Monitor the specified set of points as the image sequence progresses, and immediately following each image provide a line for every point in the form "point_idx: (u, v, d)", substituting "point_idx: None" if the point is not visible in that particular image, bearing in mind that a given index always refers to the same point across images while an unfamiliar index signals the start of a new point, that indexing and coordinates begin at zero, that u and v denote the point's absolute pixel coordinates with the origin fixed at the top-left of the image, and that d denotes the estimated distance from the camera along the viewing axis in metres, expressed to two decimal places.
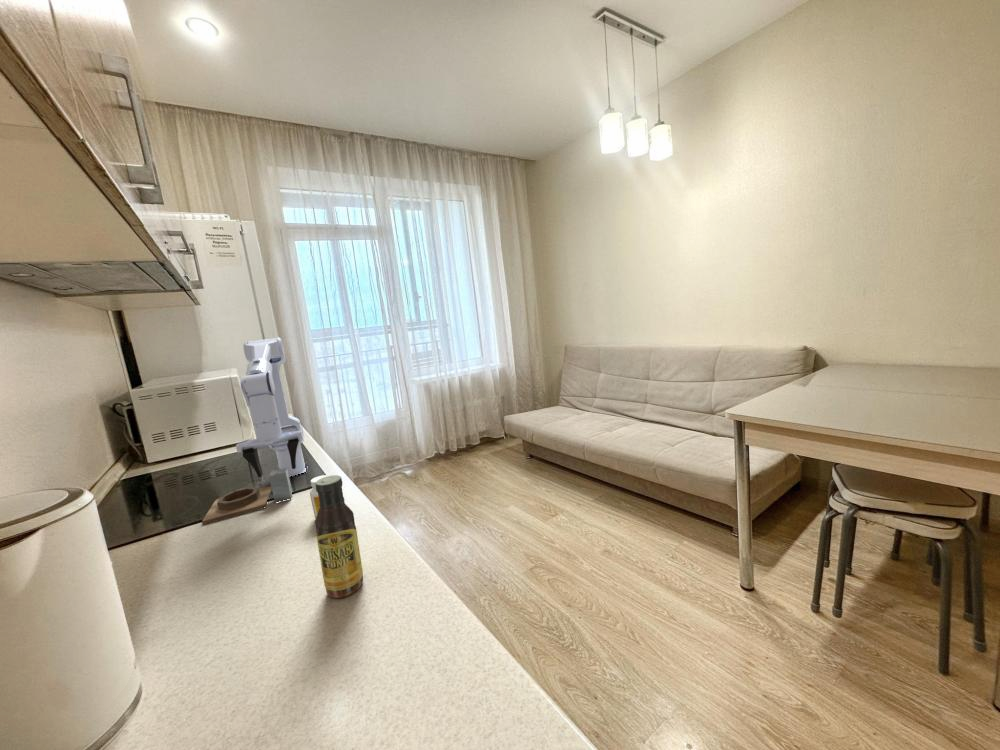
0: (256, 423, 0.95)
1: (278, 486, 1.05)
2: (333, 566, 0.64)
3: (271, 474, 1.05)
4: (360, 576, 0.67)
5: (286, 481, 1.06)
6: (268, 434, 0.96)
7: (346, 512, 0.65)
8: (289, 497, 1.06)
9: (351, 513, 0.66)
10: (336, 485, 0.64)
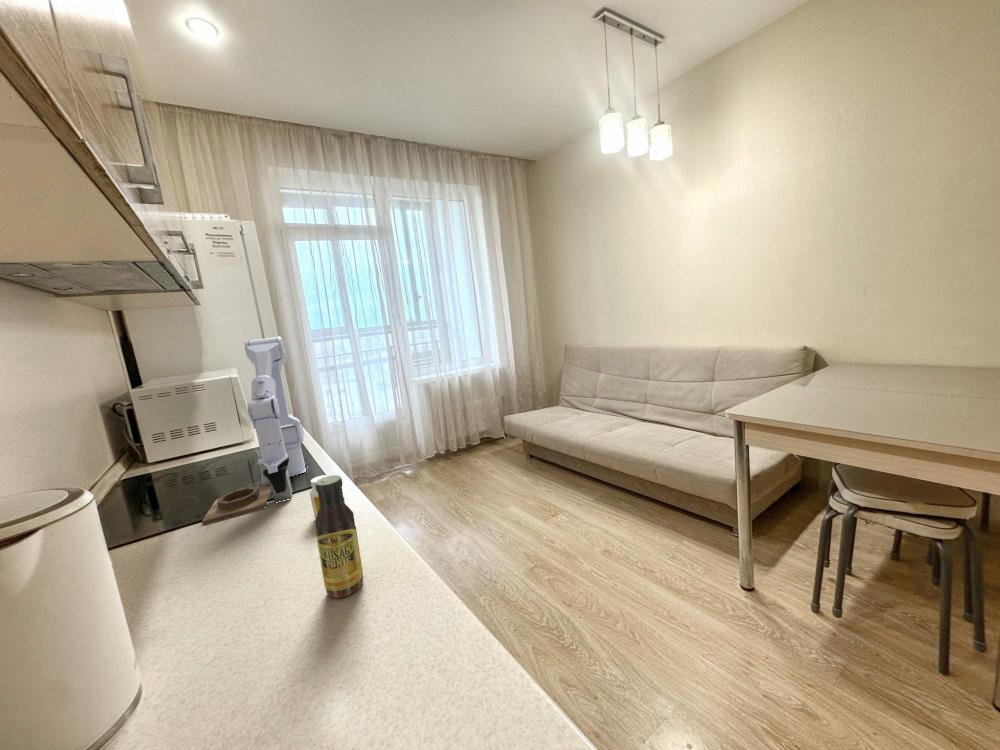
0: (262, 444, 1.02)
1: None
2: (333, 566, 0.64)
3: None
4: (360, 576, 0.67)
5: (286, 481, 1.06)
6: None
7: (346, 512, 0.65)
8: (289, 497, 1.06)
9: (351, 513, 0.66)
10: (336, 485, 0.64)
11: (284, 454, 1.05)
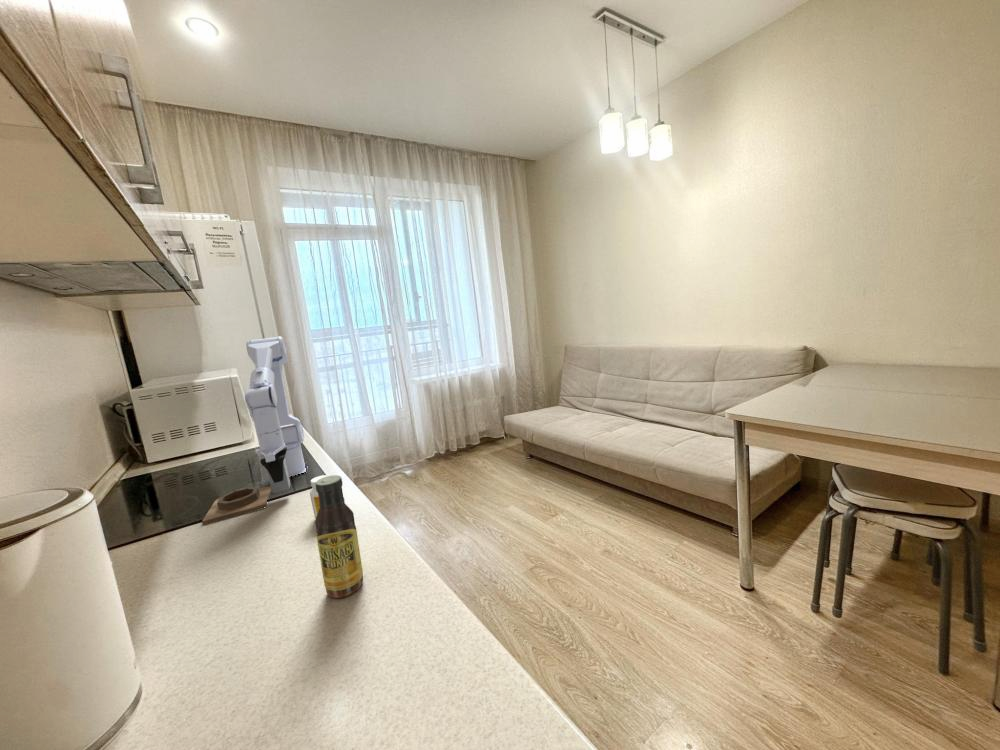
0: (259, 433, 1.02)
1: None
2: (333, 566, 0.64)
3: None
4: (360, 576, 0.67)
5: (284, 470, 1.05)
6: (259, 444, 1.03)
7: (346, 512, 0.65)
8: (287, 486, 1.06)
9: (351, 513, 0.66)
10: (336, 485, 0.64)
11: (282, 443, 1.05)
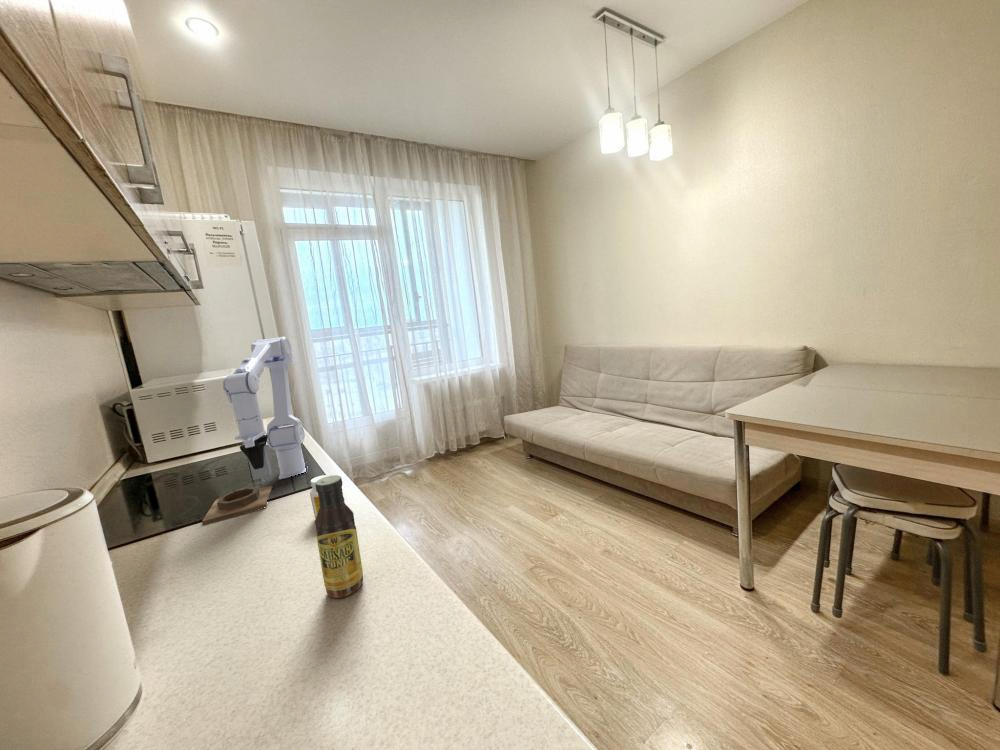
0: (237, 419, 1.01)
1: None
2: (333, 566, 0.64)
3: None
4: (360, 576, 0.67)
5: (264, 457, 1.04)
6: None
7: (346, 512, 0.65)
8: (268, 473, 1.05)
9: (351, 513, 0.66)
10: (336, 485, 0.64)
11: (262, 430, 1.04)
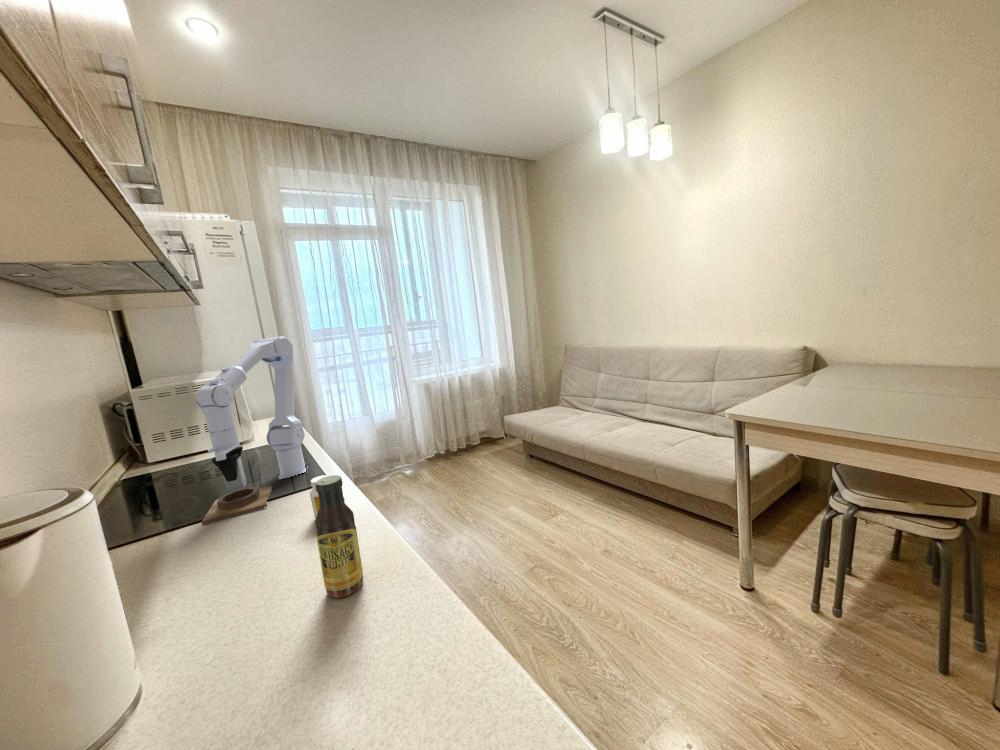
0: None
1: None
2: (333, 566, 0.64)
3: None
4: (360, 576, 0.67)
5: (238, 469, 1.04)
6: None
7: (346, 512, 0.65)
8: (241, 486, 1.05)
9: (351, 513, 0.66)
10: (336, 485, 0.64)
11: (235, 442, 1.04)
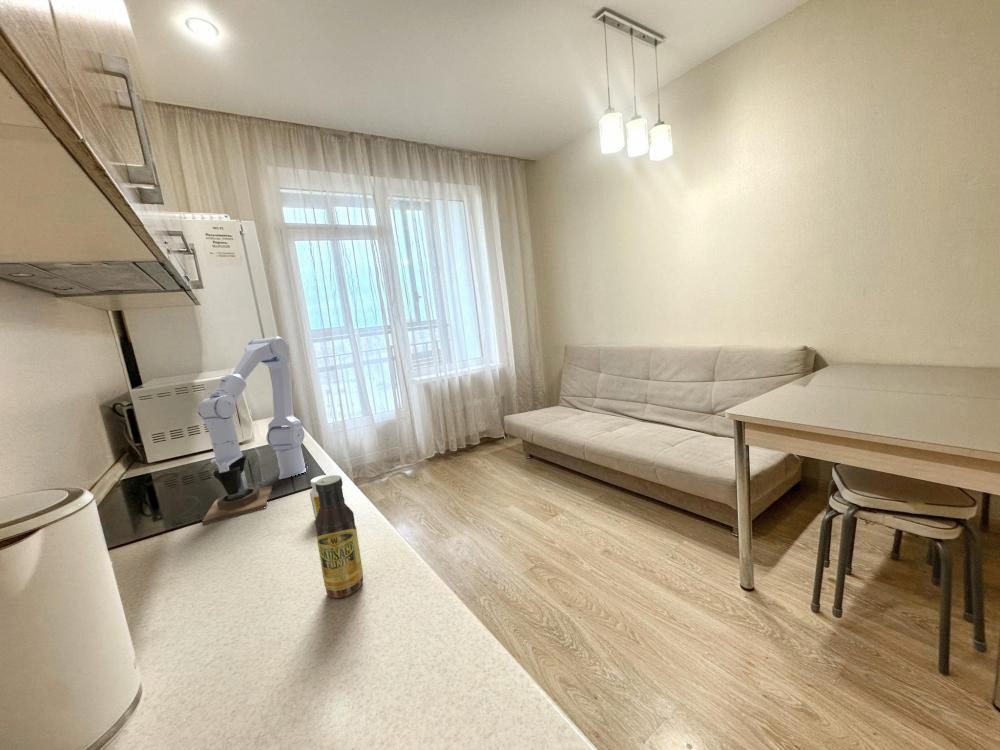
0: None
1: None
2: (333, 566, 0.64)
3: None
4: (360, 576, 0.67)
5: (241, 484, 1.05)
6: None
7: (346, 512, 0.65)
8: None
9: (351, 513, 0.66)
10: (336, 485, 0.64)
11: (238, 453, 1.04)
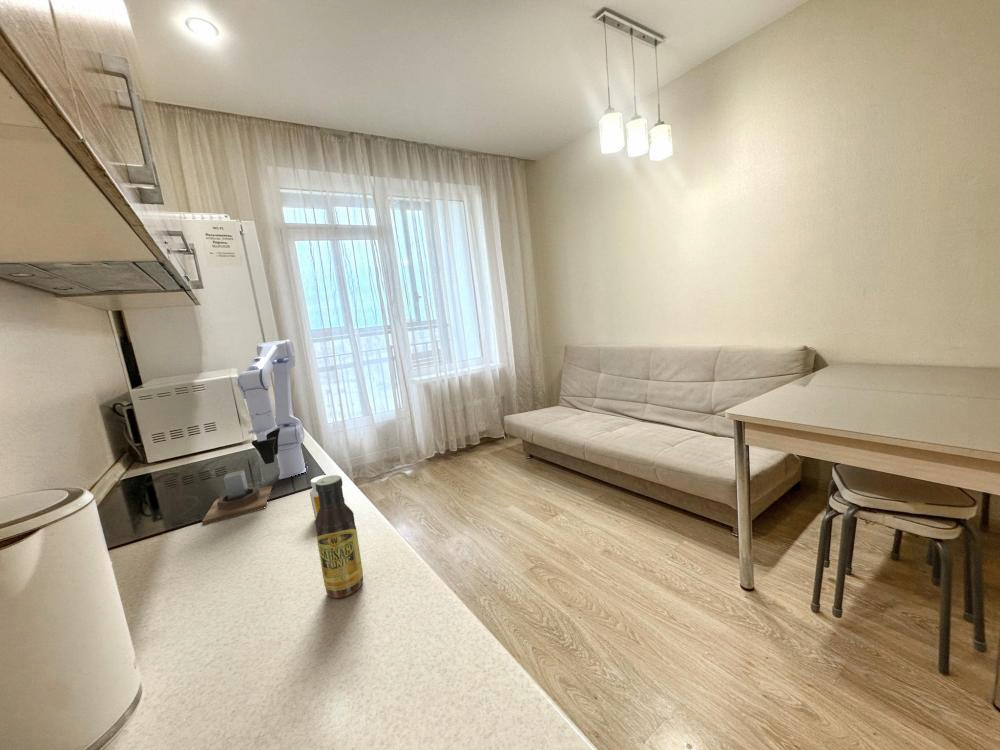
0: (251, 414, 1.06)
1: (233, 489, 1.04)
2: (333, 566, 0.64)
3: (226, 476, 1.04)
4: (360, 576, 0.67)
5: (241, 484, 1.05)
6: None
7: (346, 512, 0.65)
8: None
9: (351, 513, 0.66)
10: (336, 485, 0.64)
11: (273, 424, 1.09)
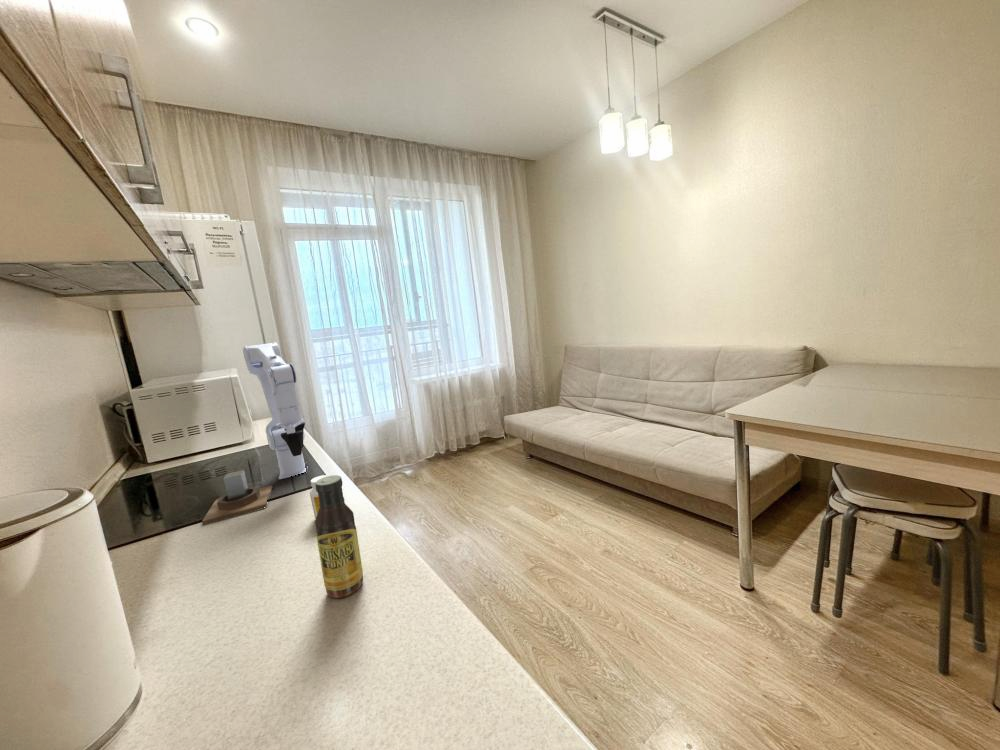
0: (283, 408, 1.09)
1: (233, 489, 1.04)
2: (333, 566, 0.64)
3: (226, 476, 1.04)
4: (360, 576, 0.67)
5: (241, 484, 1.05)
6: (279, 419, 1.11)
7: (346, 512, 0.65)
8: None
9: (351, 513, 0.66)
10: (336, 485, 0.64)
11: (300, 418, 1.12)
